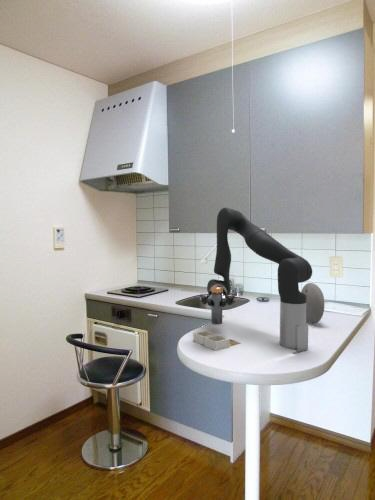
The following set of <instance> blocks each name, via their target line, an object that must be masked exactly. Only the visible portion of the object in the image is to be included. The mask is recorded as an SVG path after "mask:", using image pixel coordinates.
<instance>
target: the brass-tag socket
mask: <svg viewBox="0 0 375 500" xmlns="http://www.w3.org/2000/svg"><path fill="white" fill-rule="evenodd" d="M230 339H231V338H229V337H226V336H223V335H220V334H217V335H214V336H209V337H205V338H204V345H203V346H205V347H207V348H208V347H209V348H208V349H211V350H213V351H220V350H223V349H227V348H230V347H231V346H230Z"/></svg>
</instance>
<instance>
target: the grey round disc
mask: <svg viewBox="0 0 375 500" xmlns="http://www.w3.org/2000/svg"><path fill="white" fill-rule="evenodd" d="M300 292H301V293H304V294H305V295H306V322H307V323H310V324H317V323H319V322H320V321H321V320H322V318H323V315H324V312H325V296H324V293H323V291H322V289H321V288H320V287H319V286H318V285H317V284H316V283H313V282H308V283H306V284H305V285H303V287H302V289H301V290H300Z"/></svg>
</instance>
